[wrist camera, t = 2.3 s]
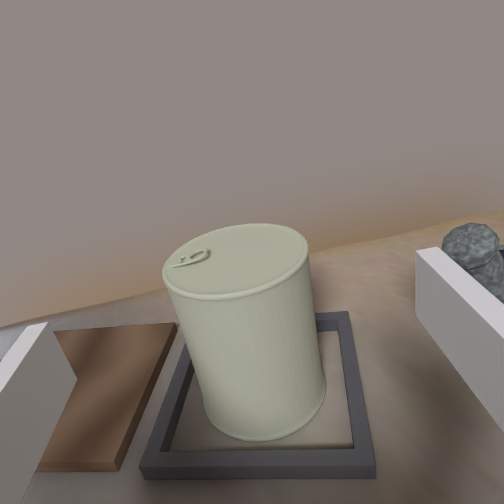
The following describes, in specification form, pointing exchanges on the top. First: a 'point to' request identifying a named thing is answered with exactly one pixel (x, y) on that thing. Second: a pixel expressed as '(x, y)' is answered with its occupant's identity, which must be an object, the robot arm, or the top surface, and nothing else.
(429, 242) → the top surface
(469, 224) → the mortar and pestle
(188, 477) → the grey picture frame
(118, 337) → the walnut board
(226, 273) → the can
